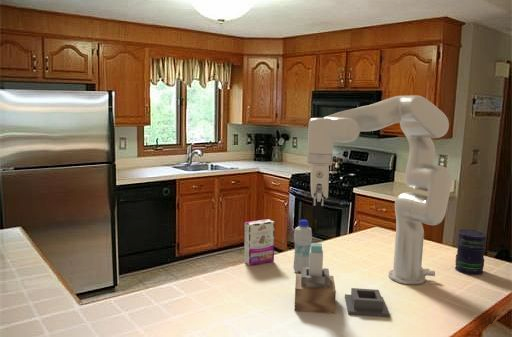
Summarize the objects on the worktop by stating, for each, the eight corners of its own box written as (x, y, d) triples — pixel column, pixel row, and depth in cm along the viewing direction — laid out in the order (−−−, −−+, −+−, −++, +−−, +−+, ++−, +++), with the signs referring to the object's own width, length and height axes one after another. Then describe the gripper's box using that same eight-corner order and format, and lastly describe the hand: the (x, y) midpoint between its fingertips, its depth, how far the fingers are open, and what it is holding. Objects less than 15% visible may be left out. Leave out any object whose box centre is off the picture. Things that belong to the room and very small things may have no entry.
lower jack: (382, 299, 139) (383, 287, 139) (389, 317, 128) (390, 304, 127) (344, 297, 141) (345, 285, 140) (348, 314, 129) (349, 301, 128)
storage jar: (455, 272, 164) (458, 234, 162) (454, 264, 173) (457, 228, 171) (484, 277, 161) (488, 238, 159) (481, 268, 170) (485, 231, 168)
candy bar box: (268, 257, 176) (269, 218, 174) (274, 261, 172) (275, 221, 170) (243, 261, 171) (244, 221, 169) (248, 266, 167) (249, 224, 165)
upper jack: (332, 296, 141) (333, 266, 140) (334, 313, 129) (336, 281, 128) (295, 293, 142) (296, 264, 141) (294, 310, 131) (295, 278, 129)
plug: (321, 279, 137) (322, 243, 135) (321, 284, 133) (323, 247, 131) (308, 279, 137) (309, 242, 135) (308, 284, 133) (310, 246, 132)
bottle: (310, 269, 165) (312, 217, 162) (311, 275, 158) (313, 222, 156) (292, 268, 166) (294, 217, 163) (292, 274, 159) (294, 221, 156)
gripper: (334, 163, 121) (331, 222, 123) (330, 156, 138) (328, 209, 140) (307, 162, 122) (304, 221, 124) (307, 155, 139) (305, 208, 141)
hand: (317, 214), depth 132 cm, fingers open, 9 cm apart
